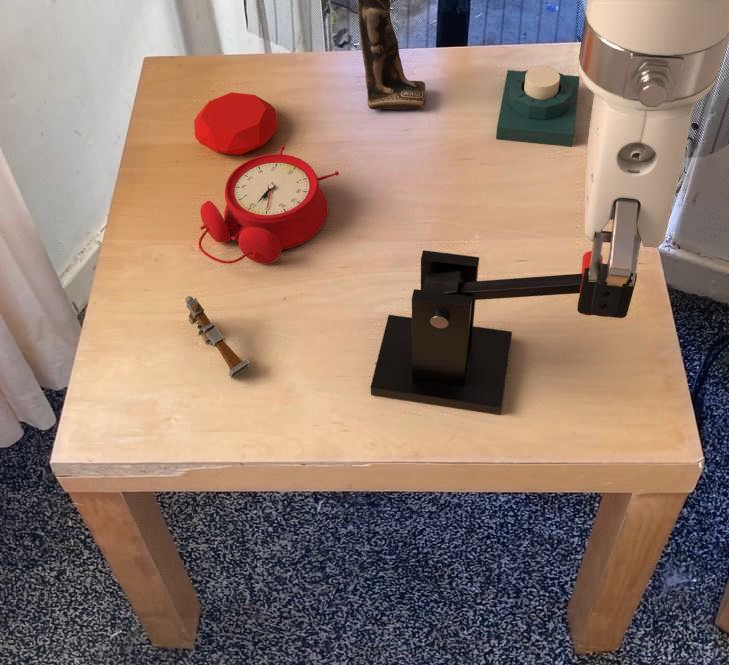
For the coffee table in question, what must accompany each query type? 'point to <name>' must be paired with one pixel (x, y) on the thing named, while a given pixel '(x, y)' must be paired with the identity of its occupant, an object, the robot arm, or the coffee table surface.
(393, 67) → the statue
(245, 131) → the gemstone
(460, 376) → the black lever base
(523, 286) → the red handled lever
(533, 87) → the power button
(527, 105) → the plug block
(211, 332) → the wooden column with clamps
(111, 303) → the coffee table surface
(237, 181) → the alarm clock
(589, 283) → the robot arm
